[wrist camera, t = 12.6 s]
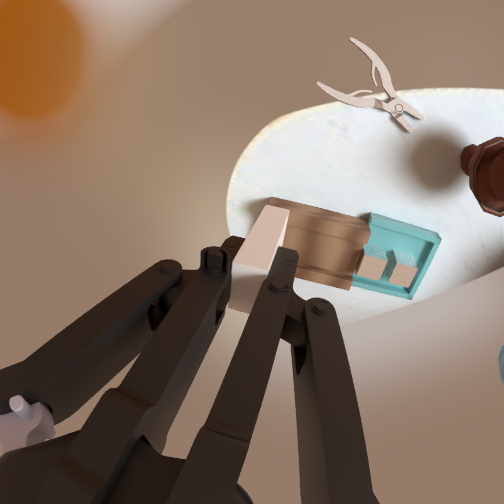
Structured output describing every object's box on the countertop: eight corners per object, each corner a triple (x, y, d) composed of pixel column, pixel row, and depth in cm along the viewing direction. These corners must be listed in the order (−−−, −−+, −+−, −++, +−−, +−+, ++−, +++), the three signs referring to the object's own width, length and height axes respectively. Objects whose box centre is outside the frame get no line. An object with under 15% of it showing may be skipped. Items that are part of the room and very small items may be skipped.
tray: (437, 233, 40) (441, 239, 38) (409, 292, 47) (411, 299, 45) (370, 212, 41) (372, 217, 40) (347, 277, 49) (347, 284, 47)
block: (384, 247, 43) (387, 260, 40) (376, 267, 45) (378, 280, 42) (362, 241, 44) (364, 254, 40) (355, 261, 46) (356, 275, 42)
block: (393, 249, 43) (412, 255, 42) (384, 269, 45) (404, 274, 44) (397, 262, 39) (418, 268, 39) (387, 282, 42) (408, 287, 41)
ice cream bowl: (448, 195, 36) (488, 239, 24) (444, 126, 31) (493, 144, 19) (496, 192, 32) (543, 233, 20) (495, 127, 27) (550, 148, 15)
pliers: (352, 34, 27) (436, 102, 29) (351, 37, 29) (432, 102, 30) (315, 84, 33) (399, 149, 34) (315, 85, 34) (396, 148, 36)
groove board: (367, 220, 42) (371, 233, 39) (348, 275, 48) (349, 290, 45) (271, 196, 45) (266, 207, 41) (262, 253, 51) (256, 267, 47)
